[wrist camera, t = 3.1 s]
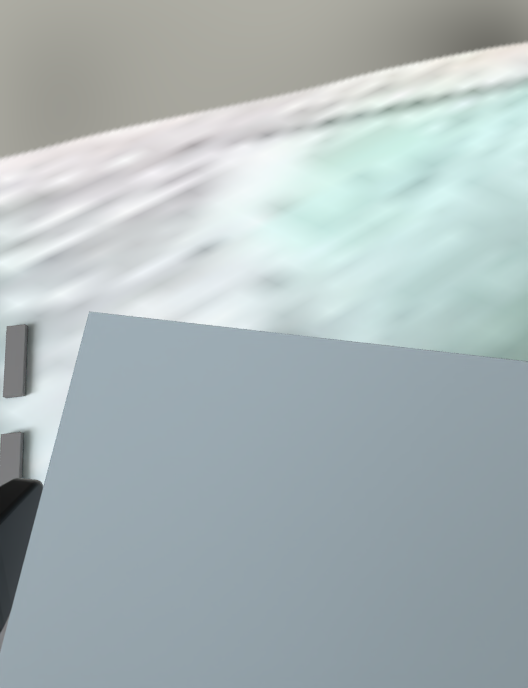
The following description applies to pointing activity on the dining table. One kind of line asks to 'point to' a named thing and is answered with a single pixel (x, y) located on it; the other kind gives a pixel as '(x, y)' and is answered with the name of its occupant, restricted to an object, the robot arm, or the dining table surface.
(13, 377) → the perforation line
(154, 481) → the stub block
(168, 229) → the dining table surface
